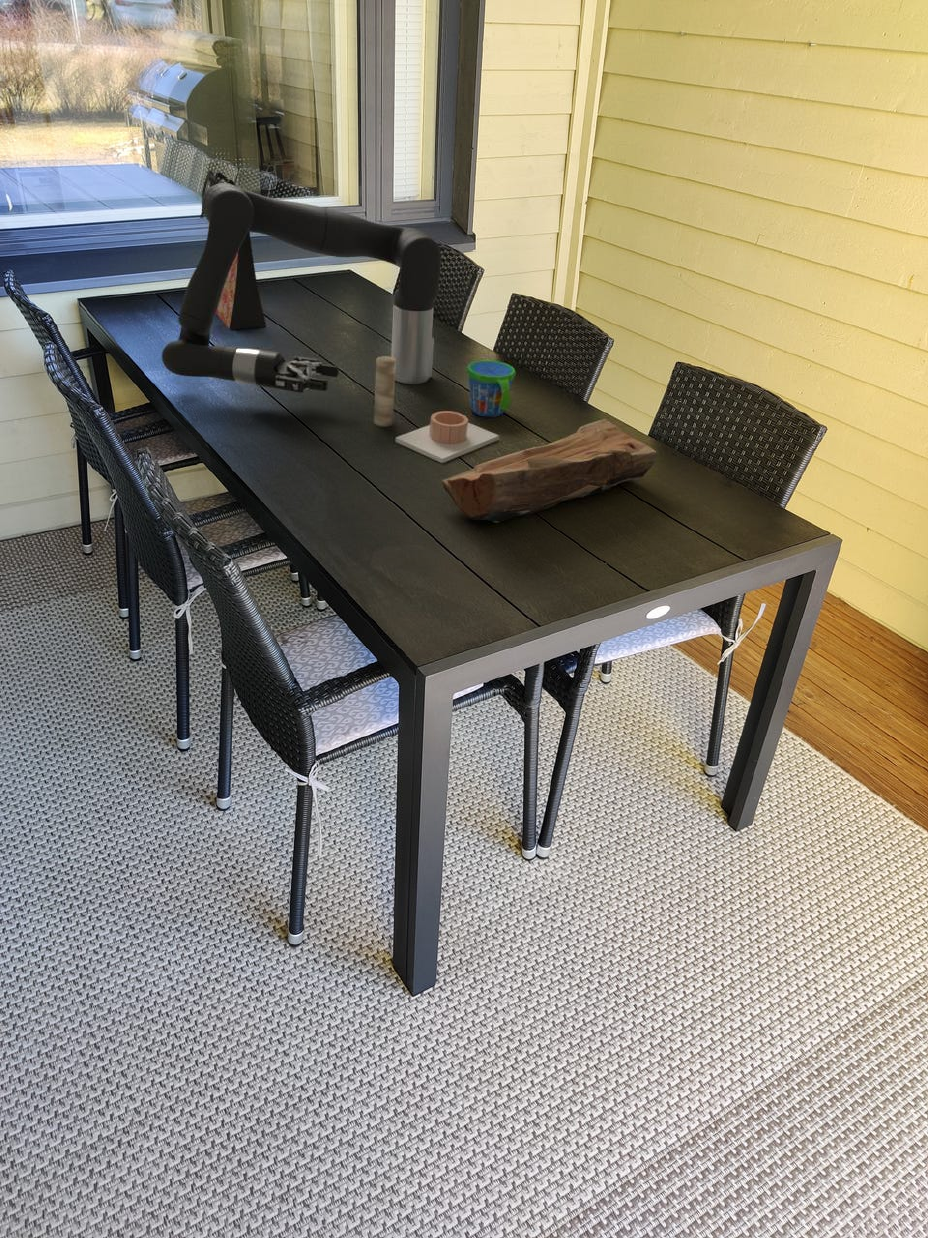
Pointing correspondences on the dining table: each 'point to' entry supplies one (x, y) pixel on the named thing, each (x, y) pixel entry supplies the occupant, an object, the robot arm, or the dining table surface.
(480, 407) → the snack cup
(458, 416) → the ring
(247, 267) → the gift bag
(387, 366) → the ash dowel
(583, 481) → the log
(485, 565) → the dining table surface
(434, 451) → the stand board
